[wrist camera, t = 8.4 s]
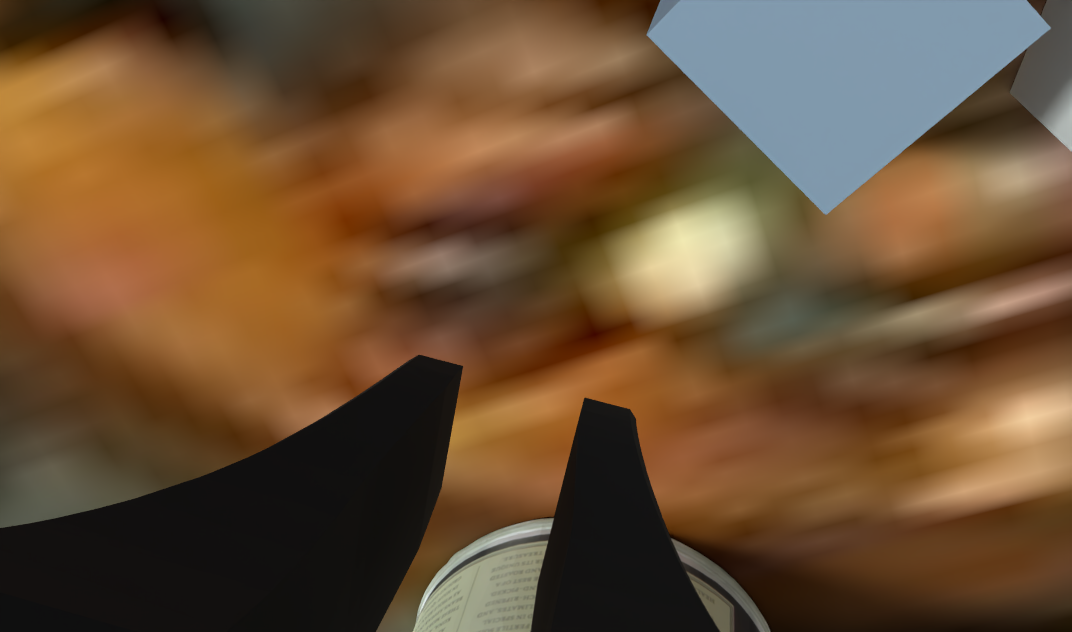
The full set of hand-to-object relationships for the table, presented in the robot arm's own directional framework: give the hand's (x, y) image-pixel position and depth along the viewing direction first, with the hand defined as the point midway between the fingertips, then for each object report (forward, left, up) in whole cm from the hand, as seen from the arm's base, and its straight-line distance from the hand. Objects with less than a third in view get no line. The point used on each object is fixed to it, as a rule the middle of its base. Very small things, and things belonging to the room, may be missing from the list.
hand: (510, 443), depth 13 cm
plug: (0, +6, -10) cm, 11 cm away
